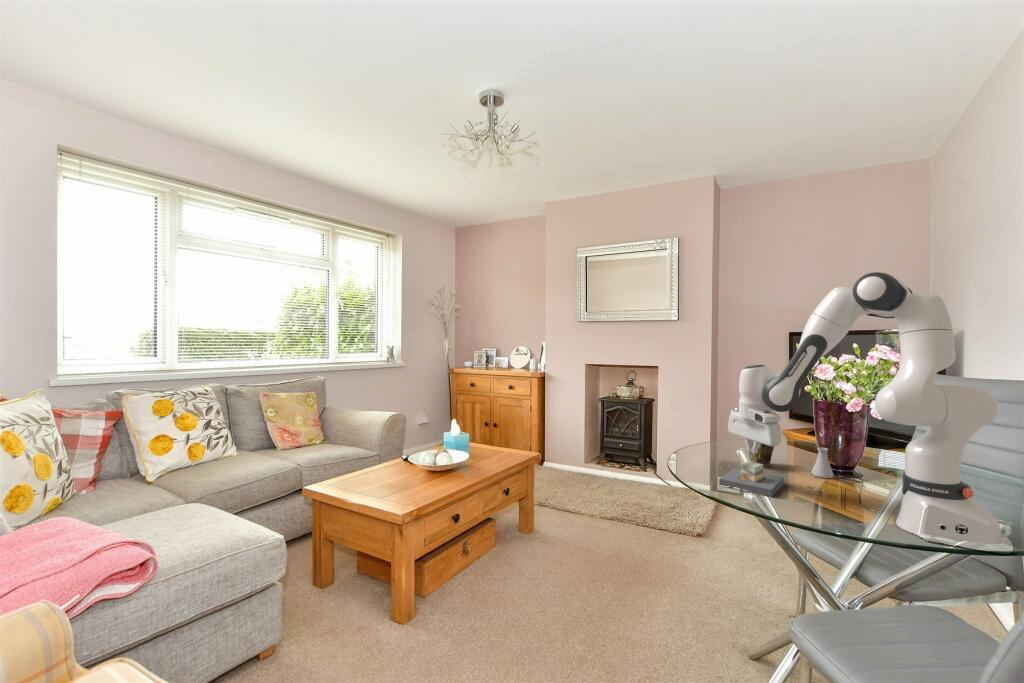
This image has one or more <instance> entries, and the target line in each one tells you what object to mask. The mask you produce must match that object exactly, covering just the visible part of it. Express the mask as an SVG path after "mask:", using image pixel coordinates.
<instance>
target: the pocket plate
mask: <svg viewBox="0 0 1024 683" xmlns="http://www.w3.org/2000/svg"><path fill="white" fill-rule="evenodd" d="M718 485H724V486H730V487H737V488H740V489H745V490H748V491H751V492H754V493H759V494H762V495H761V496H763V495H764V496H763V497H769V498H772V497H773V496H774V495H775V494H776V493H777V492H778V491H779V490H780V489H781V488H782V487H783V486H784V485H785V477H784V476H780V475H775V474H771V473H765V472H763V481H762V482H761V483H758V482H753V481H748V480H744V479H741V467H734V468H732V469H731V470H729V471H728V472H727V473H725V474H724V475H723V476H721V477H720V478H719V484H718ZM754 493H753V494H754ZM759 494H758V495H759Z"/></svg>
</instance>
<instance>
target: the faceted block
mask: <svg viewBox="0 0 1024 683" xmlns="http://www.w3.org/2000/svg"><path fill="white" fill-rule="evenodd" d="M740 469H741V479H744V480H748V481H753V482H758V483H761V482H762V481H763V473H764V468H763V464H759V463H755V462H752V461H750V460H748V461H744V462H740Z"/></svg>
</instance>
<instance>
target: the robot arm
mask: <svg viewBox="0 0 1024 683" xmlns="http://www.w3.org/2000/svg"><path fill="white" fill-rule="evenodd" d="M949 313H950V312H949V311H948V308H947V304H946V303H945V301H944V299H943V298H942V297H941V296H939V295H937V294H934V293H926V292H924V293H922V292H921V293H913V290H912V289H911V288H909V287H908V286H907V285H905V284H904V282H903V281H901V280H900V279H898V278H897V277H894V276H892V275H891V274H888V273H886V272H882V271H881V272H879V271H878V272H877V271H876V272H875V271H873V272H868V273H866V274H864V275H862V276H860V277H859V278H858V279H857V280H856V281H855V283H854V285H853V288H852V287H847V286H838V287H835V288H833V289H831V291H829V292H828V293H827V294H826V295H825V296H824V298H823V299H821V301H820V302H819V304H817V306H816V307H815V309H814V310H813V312H812V313H811V315H810V316H809V318H808V320H807V321H806V324H805V325H804V329H803V331H802V333H801V337H800V341H799V345H798V346H797V349H796V351H795V353H794V354H793V356H792V357H791V359H790V360H789V361H788V363H787V365H786V366H785V368H784V369H783V370H782V372H781V373H779V372H777V371H775V370H773V369H771V368H770V367H768V366H767V365H765V364H753V365H748V366H746V367H743V368H742V370H741V371H740V374H739V380H738V381H739V383H738V392H739V396H740V397H739V400H738V408H737V407H734V408H731V410H730V415H729V417H728V423H727V424H728V426H727V430H728V432H729V433H730V434H732V435H736V436H738V437H742V438H743V439H744V442H745V444H746V450H747V452H748V453H749V452H751V453H754V454H756V453H758V448H759V446H760V445H761V443H762V444H765V445H768V446H774V447H778V446H779V445H780V444H781V443H782V428H781V427H782V426H781V425H780V422H781V415H780V414H778V413H785V412H788V411H791V410H793V409H794V408H795V407H796V406H797V404H798V403H799V398H800V395H801V394H802V393H801V392H802V389H801V387H802V385H803V383H804V382H805V380H806V379H807V377H808V376H809V375H810V373H811V372H812V370H813V368H814V367H815V365H817V363H818V362H819V361H820V360H821V359H822V358H823V357H824V356H825V355H827V354H828V353H829V352H831V351H832V349H833V350H834V348H835V347H836V346H837V345H838V344H839V343H840V342H841V341H842V340H843V339H844V338H845V336H846V335H847V334H848V333H849V331H850V330H851V328H852V327H853V326H854V324H855V322H856V321H857V320H858V319H859V318H860V317H862V316H864V315H867V316H869V317H877V318H882V319H895V320H896V322H897V327H898V335H899V336H898V337H899V346H900V347H899V348H900V364H899V368H898V370H897V372H896V374H895V376H894V378H893V379H892V380H891V381H890V382H889V383H888V384H886V385H885V386H883V387H882V388H881V389H880V390H879V391H878V393H877V394H876V396H875V400H874V406H875V410H876V411H877V414H878V415H879V416H880V418H881V419H883V420H884V421H886V422H888V423H893V424H898V425H904V426H914V427H915V426H916V427H917V426H918V427H928V429H927V431H926V432H925V433H924V434H923V435H922V436H920V437H918V438H915V439H912V441H910V442H909V443H908V444H907V445H906V446H905V453H904V454H905V457H904V460H905V461H904V472H903V474H902V477H901V492H902V501H901V504H900V509H899V513H898V515H897V518H896V521H895V524H896V525H897V526H898V527H899V528H900V529H902V530H903V531H906V532H908V533H910V534H912V533H913V535H915V534H916V535H915V536H917V535H918V536H920V537H922V538H925V539H929V540H935V541H947V542H953V543H955V542H963V541H968V542H978V543H985V544H997V545H998V544H1002V543H1003V542H1004V541H1007V538H1003V537H1008V536H1006V534H1004V533H1002V530H1001V527H1000V522H999V521H998V519H997V518H996V516H995V515H994V514H993V513H992V512H990V511H989V510H988V509H986V508H984V507H983V506H982V505H981V504H979V503H978V502H977V501H975V500H973V499H972V497H974V490H972V489H971V488H972V487H971V486H969V484H968V483H965V482H963V481H961V468H962V460H963V454H964V451H965V449H966V447H967V445H968V443H969V441H970V440H971V439H972V438H973V436H974V435H975V434H977V432H979V431H980V430H981V429H983V428H985V427H986V426H988V425H990V424H991V423H993V422H994V420H995V419H996V418H997V416H998V412H999V405H998V402H997V400H996V398H995V396H994V395H993V394H992V393H991V392H990V391H989V390H987V389H984V388H982V387H981V388H980V387H975V386H969V385H965V384H935V377H936V375H937V373H938V372H941V371H943V370H945V369H947V368H949V367H951V365H953V364H954V362H955V361H956V357H957V353H956V347H955V339H954V332H953V324H952V321H951V317H950V314H949ZM777 412H778V413H777ZM751 441H753V444H754V445H752V442H751ZM918 536H917V537H918ZM920 537H919V538H920Z"/></svg>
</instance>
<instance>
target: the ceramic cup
mask: <svg viewBox="0 0 1024 683" xmlns="http://www.w3.org/2000/svg"><path fill="white" fill-rule="evenodd" d="M751 442H752V445H754V444H753V441H751ZM774 448H775V446H768V445H765V444H762V443H761V445H760V446H759V448H758V453H756V454H754V453H751V452H748V457H749V461H752V462H755V463H759V464H763V469H764V468H769V467H770V465H771V461H772V456H773V452H774Z"/></svg>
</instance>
